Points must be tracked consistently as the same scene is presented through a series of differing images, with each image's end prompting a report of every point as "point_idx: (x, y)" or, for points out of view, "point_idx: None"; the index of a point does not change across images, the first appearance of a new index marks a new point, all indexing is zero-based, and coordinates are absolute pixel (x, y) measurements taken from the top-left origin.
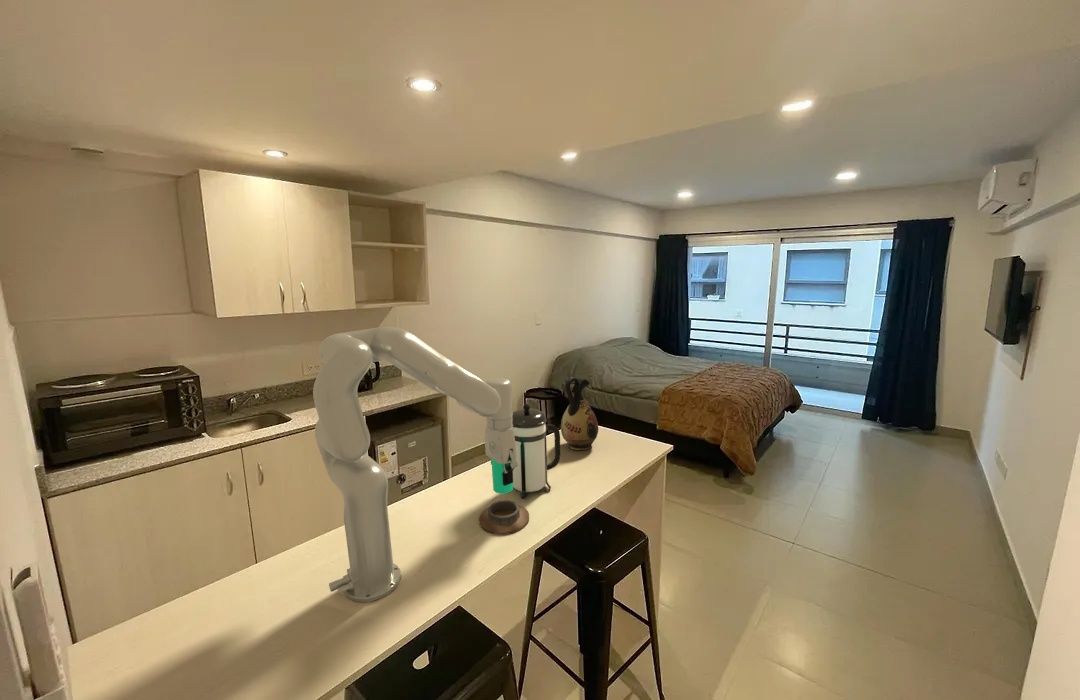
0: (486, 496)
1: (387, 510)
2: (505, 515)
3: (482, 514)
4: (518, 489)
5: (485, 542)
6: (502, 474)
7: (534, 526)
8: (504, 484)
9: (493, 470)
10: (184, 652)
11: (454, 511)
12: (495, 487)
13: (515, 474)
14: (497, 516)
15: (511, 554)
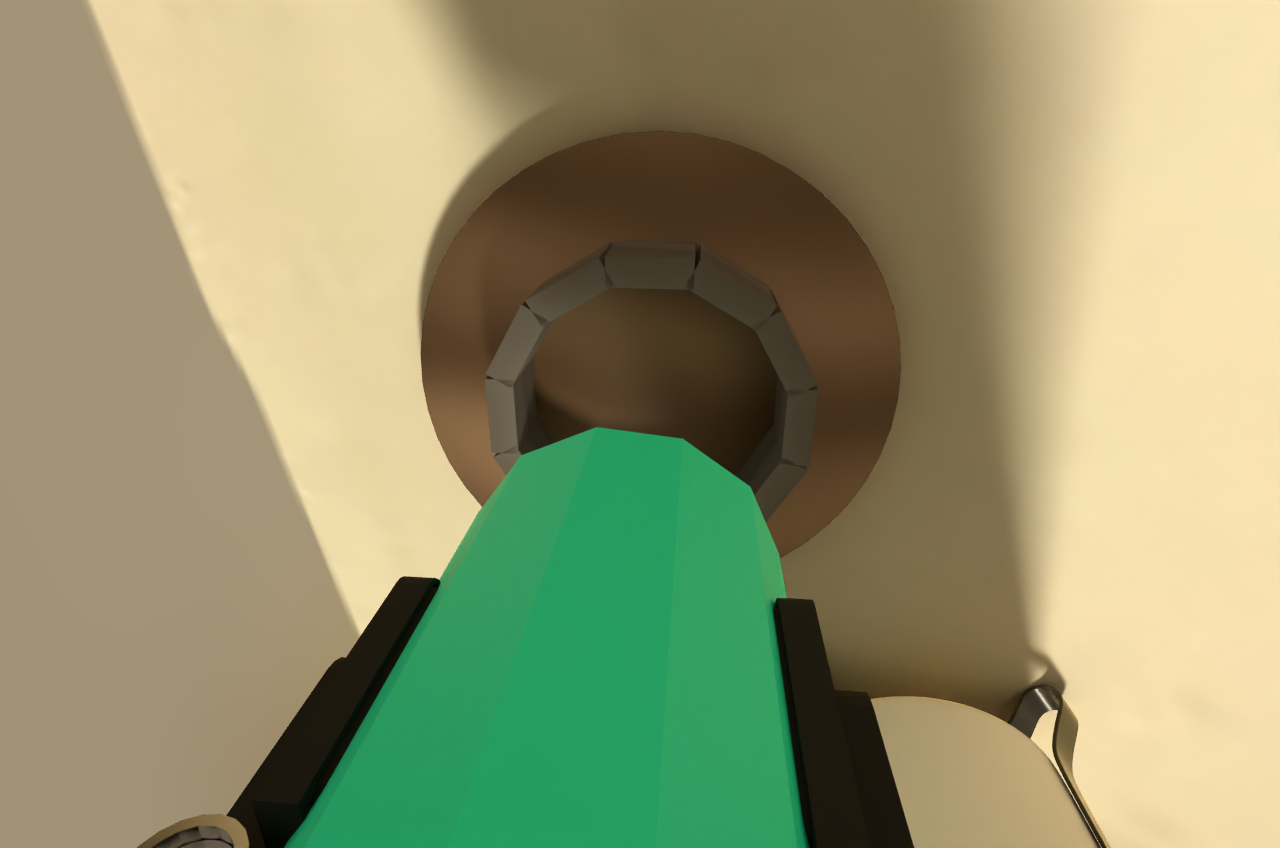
0: (1103, 475)
1: None
2: (657, 408)
3: (833, 250)
4: (874, 703)
5: (448, 30)
6: (331, 755)
7: (418, 493)
8: (399, 594)
9: (571, 735)
10: None
11: (1190, 53)
12: (582, 468)
13: (951, 836)
14: (562, 292)
15: (173, 132)
